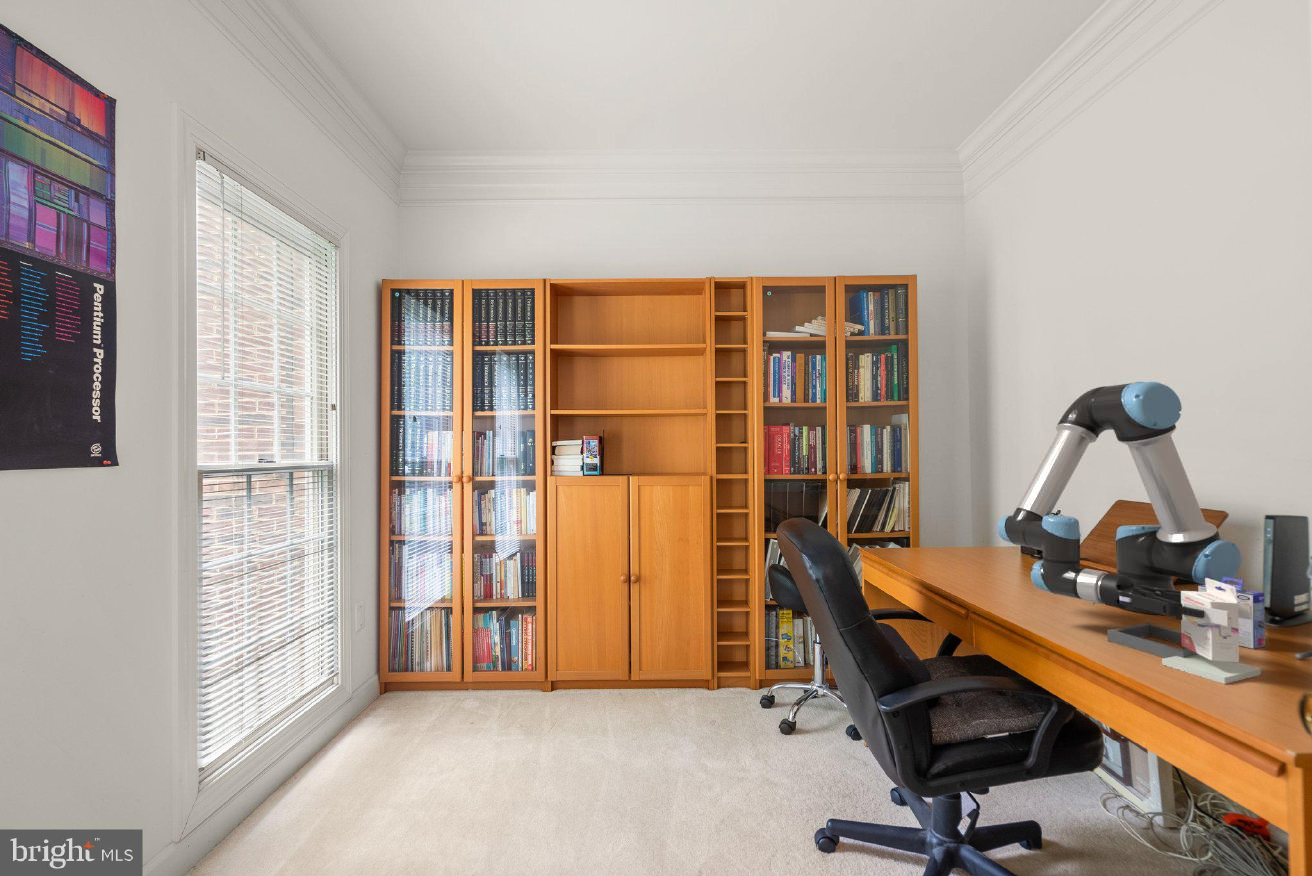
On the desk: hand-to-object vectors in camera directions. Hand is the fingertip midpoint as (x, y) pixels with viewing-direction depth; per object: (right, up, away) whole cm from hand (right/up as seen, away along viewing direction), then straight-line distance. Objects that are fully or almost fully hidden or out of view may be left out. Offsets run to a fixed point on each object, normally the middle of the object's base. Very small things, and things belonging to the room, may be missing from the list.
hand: (1239, 615), depth 109 cm
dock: (0, -12, +16) cm, 21 cm away
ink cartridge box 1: (-2, -9, +4) cm, 10 cm away
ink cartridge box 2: (+19, -13, +20) cm, 30 cm away
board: (-2, -12, +4) cm, 13 cm away
